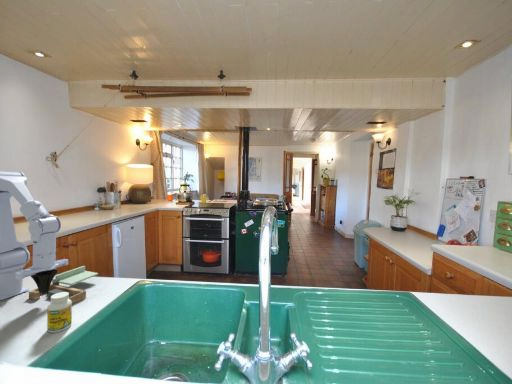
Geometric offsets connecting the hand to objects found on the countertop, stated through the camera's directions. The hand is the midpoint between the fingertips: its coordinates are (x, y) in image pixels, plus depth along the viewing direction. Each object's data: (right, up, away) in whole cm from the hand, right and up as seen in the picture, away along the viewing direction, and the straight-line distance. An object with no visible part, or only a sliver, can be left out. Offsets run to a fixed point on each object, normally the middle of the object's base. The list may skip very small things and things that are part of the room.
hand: (43, 292), depth 79 cm
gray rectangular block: (+2, -4, +4) cm, 6 cm away
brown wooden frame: (+1, -4, +4) cm, 6 cm away
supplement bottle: (+15, -5, -12) cm, 20 cm away
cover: (+1, 0, +13) cm, 13 cm away
